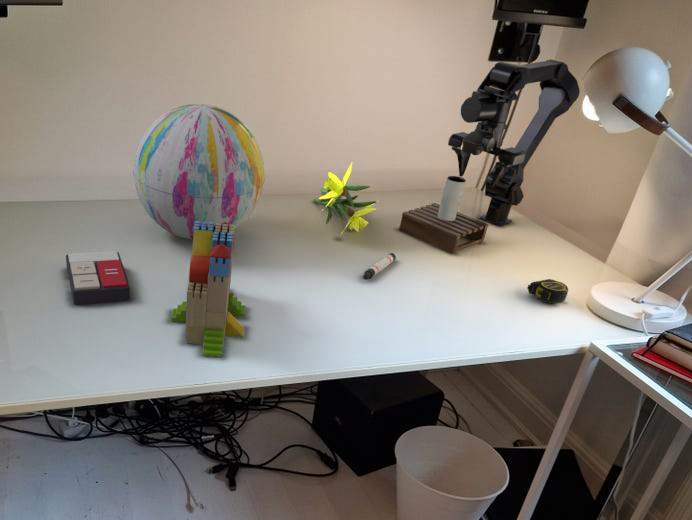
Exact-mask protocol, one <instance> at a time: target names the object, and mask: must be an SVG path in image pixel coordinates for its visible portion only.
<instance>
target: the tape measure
mask: <svg viewBox="0 0 692 520" xmlns="http://www.w3.org/2000/svg"><path fill="white" fill-rule="evenodd" d="M526 289H527V290H528V291H527V292H528V294H530V295H532V296H534V297H536V299H538V300H540V301H542V302H545V303H549V304H561V303H563V302H564V301H566V299H567V296H568V293H569V287H568V286H567V285H566V284H565V283H563V282H561V281H558V280H555V279H551V278H548V279H541V280H536V281H532V282H531V283H530V284H527V287H526Z"/></svg>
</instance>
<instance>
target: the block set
mask: <svg viewBox="0 0 692 520" xmlns="http://www.w3.org/2000/svg"><path fill="white" fill-rule="evenodd" d="M201 226H202V227H201ZM201 226H200V221H195V225H194V233H193V240H192V248H191V249H192V251H191V255H190V261H189V262H190V263H189V272H188V273H189V274H188V285H187V289H186V301H182V303H181V304H178V305H177V308H172V312H171V316H170V321H171V322H176V323H177V322H178V323H185V339H184V340H185V343H186V344H193V345H202V356H205V357H219V358H222V357H223V354H224V353H223V352H224V345H225V336H226V337H235V338H236V337H237V338H244V337H245V327H244V326H243V324H242V323H241V322H239V320H238V319H237V318H241V319H242V318H243V319H245V318H246V311H247V310H246V309H247V306H246V305H243V304H242V303H243V301H241V300H238V296H234V292H231V291H230V289H231V280H232V269H233V268H232V267H233V259H234V258H233V257H234V244H235V231H236V229H235V225H229V224H228V223H226V222H223V223H221V224H219V223H216V225H215V226H214V223H213V222H209V226H208V227H207V222H203V223H202V225H201Z"/></svg>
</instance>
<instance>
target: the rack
mask: <svg viewBox="0 0 692 520" xmlns="http://www.w3.org/2000/svg"><path fill="white" fill-rule="evenodd" d="M439 207H440V203H436V202H433V203H431V204H426V205H424V206H420V207H416V208H414V209H409V210H408V211H403V212H402V213H401V219H400V223H399V228H398V231H400V232H402V233H404V234H407V235H409V236H411V237H413V238H415V239H417V240H419V241H422V242H424V243H426V244H429V245H431V246H433V247H435V248H438V249H440V250H442V251H444V252H447V253H448V254H451V255H455V254H456V253H457V251H460V250H463V249H465V248H468V247H471V246H474V245H476V244H483V243H484V240H485V237H486V234H487V231H488V228H489V227H490V224H489V223H488V222H487V223H486V222H484V221H483V220H482V221H481V220H479V219H478V218H477V219H476V218H475V217H474V218H473V217H472V216H469V215H466V214H464V213H463V212H462V213H461V212H459V211H457V214H456V218H455V220H454V221H443V220H440V219H439V218H438V217H437V215H438V211H439ZM461 237H464V238H466V239H469V240H470V241H467V242H465V243H461V244H459V241H460V238H461Z"/></svg>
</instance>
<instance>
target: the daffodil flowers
mask: <svg viewBox="0 0 692 520" xmlns="http://www.w3.org/2000/svg"><path fill="white" fill-rule="evenodd" d="M352 170H353V162H351V163H350V164H349V167H348V168H347V170H346V172H345V174H344V176H343V177H342V180H341V179H339V177H338V176H337V175H336V174H334V173H333V172H330V171H328V172H327V175H328V177H327V178H326V180H325V182H324V184H323V187H322V188H320V190H319V192H320V193H321V195H322V196H320V197H319V198H318V199H316V198H313V201H314V202H315V203H317V204H319V205H323V206H324V208H323V210H325V209H326V210H327V215H326V219H325V225H328V224H329V222H330V221H331V219H332V216H333V213H332V209H333V211H334V212H335V213H336V215H337V216H338V218H339V220H340V221H341V223H342V224H344V218H343V217H344V216H343V214H344V215H345V216H346V217H347V218H348V222H347V224H346V226H345V228H344V229H343V230H342V231H341V233H340V235H342V234H343V232H344V231H345V229H346V228H347V227H348V228H349V229H350V230H351V231H352V230H353V229H354V230H355V231H356V232H357V233H358V232H359V230H360V231H363V230H364V228H366V227H367V225H368V224H369V222H368V221H367V220H365V219H364V218H362V217H361V216H364V215H366V214H369V213H371V212H374V211H376V210H377V208H376V207H373V205H375V204H376V203H377V202H378V200H373V201H364V202H363V201H361V202H354V200H356V199H357V198H358V197H359V195H353V196H352V195H351V193H350V192H359V191H363V190H366V189H369V188H371V186H370V185H360V184H359V185H358V184H357V185H353V184H347V181H348V179H349V178H350V175H351V173H352ZM349 191H350V192H349ZM343 197H345V198H343ZM350 207H351V208H350ZM331 208H332V209H331ZM352 208H353V209H352ZM361 208H363V209H361ZM354 209H361V210H358V211H355V210H354ZM342 213H343V214H342Z"/></svg>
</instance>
